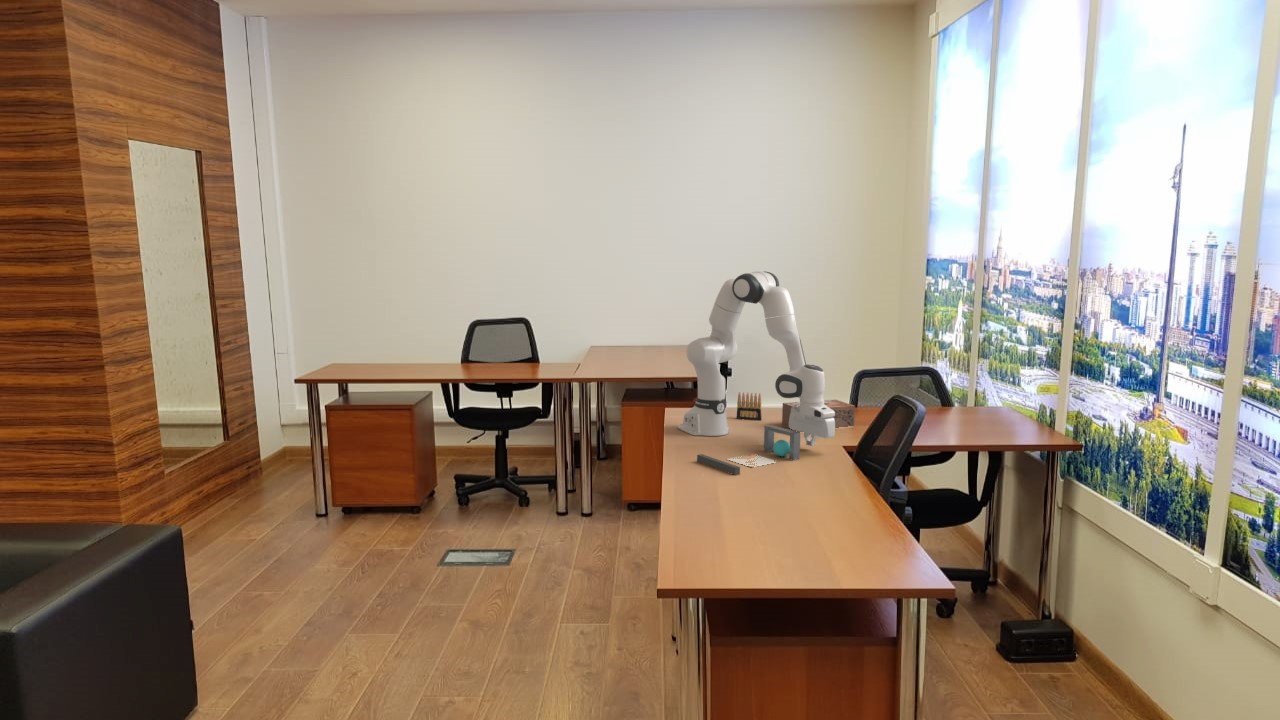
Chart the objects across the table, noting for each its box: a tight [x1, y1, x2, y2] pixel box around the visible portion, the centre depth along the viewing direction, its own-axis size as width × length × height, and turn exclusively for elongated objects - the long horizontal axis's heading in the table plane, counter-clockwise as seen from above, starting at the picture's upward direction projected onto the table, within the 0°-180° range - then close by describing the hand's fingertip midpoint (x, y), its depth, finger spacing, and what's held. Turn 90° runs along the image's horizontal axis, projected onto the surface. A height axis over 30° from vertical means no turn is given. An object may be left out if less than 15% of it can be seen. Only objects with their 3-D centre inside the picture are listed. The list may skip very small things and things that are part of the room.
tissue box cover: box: [781, 399, 856, 432], centre depth 341 cm, size 26×14×10 cm, turn 109°
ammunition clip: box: [735, 391, 762, 422], centre depth 355 cm, size 11×2×12 cm, turn 75°
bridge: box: [763, 424, 801, 461], centre depth 295 cm, size 3×15×10 cm, turn 35°
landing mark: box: [726, 454, 777, 468], centre depth 287 cm, size 13×13×1 cm
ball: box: [773, 439, 790, 457], centre depth 293 cm, size 6×6×6 cm
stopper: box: [696, 453, 741, 476], centre depth 278 cm, size 20×2×2 cm, turn 35°
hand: (810, 445), depth 304 cm, fingers closed
